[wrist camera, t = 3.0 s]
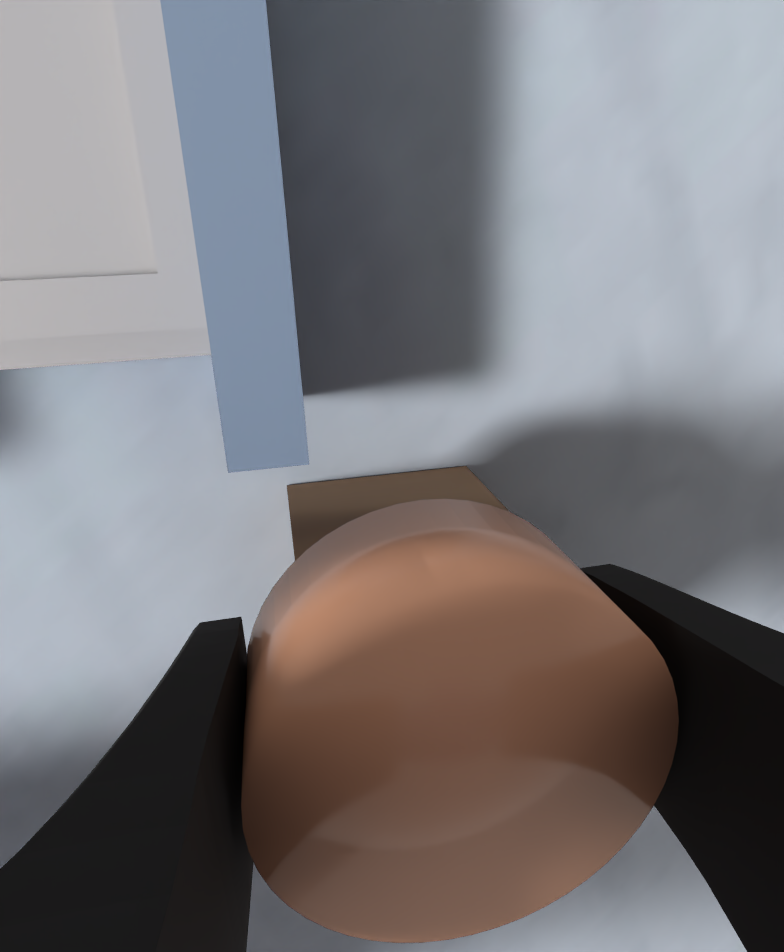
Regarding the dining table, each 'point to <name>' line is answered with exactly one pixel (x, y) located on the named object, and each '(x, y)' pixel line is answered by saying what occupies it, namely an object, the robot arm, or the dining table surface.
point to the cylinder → (445, 725)
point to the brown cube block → (373, 499)
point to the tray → (150, 203)
